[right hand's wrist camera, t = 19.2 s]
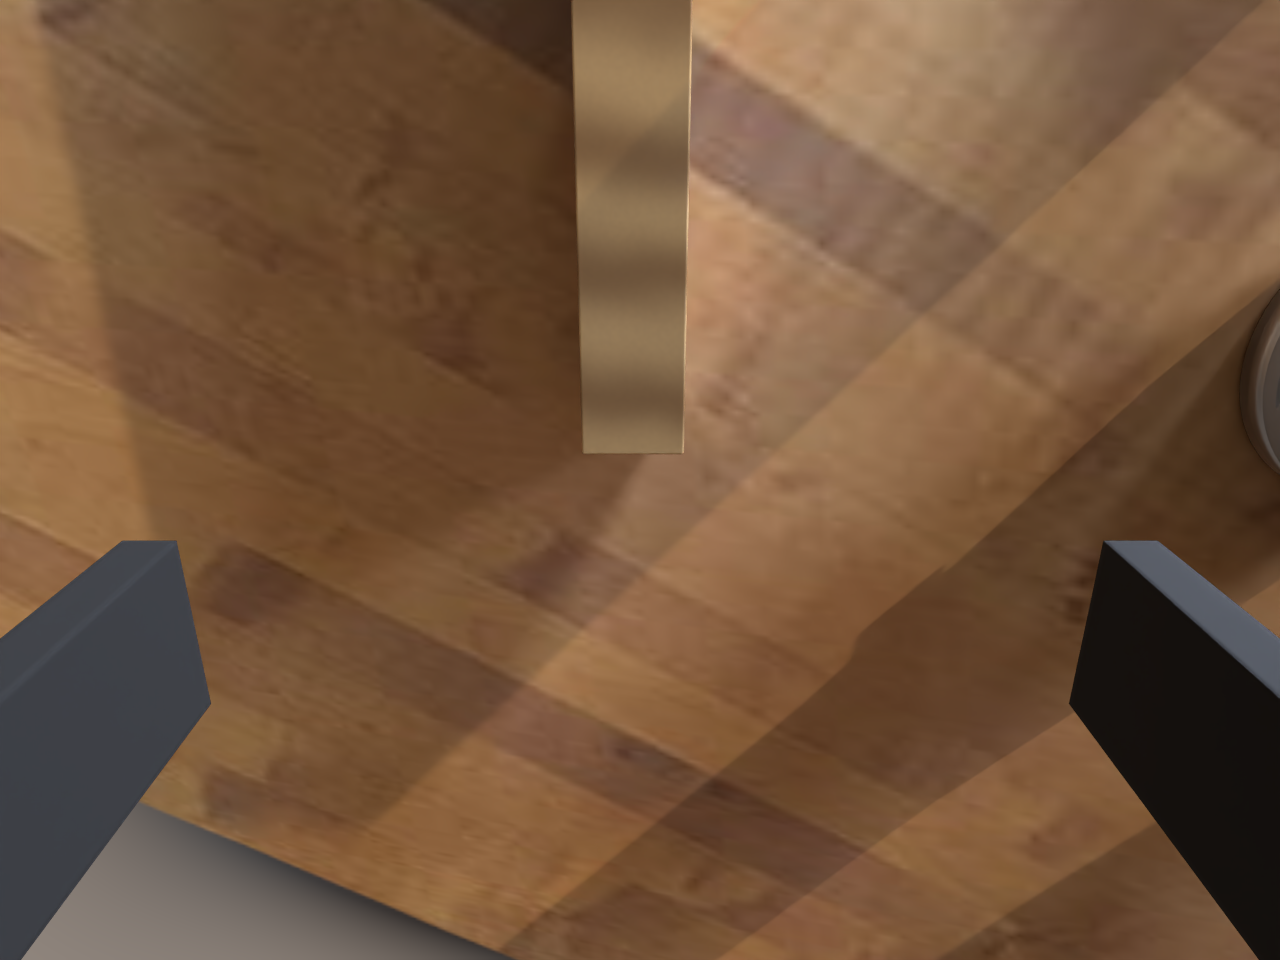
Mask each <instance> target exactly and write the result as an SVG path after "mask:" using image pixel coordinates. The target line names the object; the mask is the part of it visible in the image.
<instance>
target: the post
mask: <svg viewBox="0 0 1280 960" xmlns="http://www.w3.org/2000/svg"><path fill="white" fill-rule="evenodd" d="M692 1H693V0H571V27H572V67H573V108H574V148H575V188H576V228H577V268H578V308H579V348H580V388H581V428H582V453H583V454H683V453H684V410H685V359H686V308H687V257H688V206H689V154H690V103H691V52H692Z"/></svg>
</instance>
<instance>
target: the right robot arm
mask: <svg viewBox="0 0 1280 960" xmlns="http://www.w3.org/2000/svg"><path fill="white" fill-rule="evenodd" d="M1240 408H1241V413H1242V419H1243V423H1244V426H1245V429H1246V432H1247V434H1248V437H1249V439H1250V441H1251V443H1252V445H1253V446H1254V448H1255V450H1256V452H1257V453H1258V454H1259V455H1260V457H1261V458H1262V459H1263V461H1264V462H1265V463H1266V464H1267V465H1268V466H1269V467H1270V468H1271V469H1272V470H1274V471H1275V472H1276V473H1278V474H1279V475H1280V290H1279V291H1278V292H1277V293H1276V295H1275V296H1274V298H1273V299H1272V300H1271V302H1270V303H1269V305H1268V306H1267V308H1266V309H1265V311H1264V313H1263V315H1262V317H1261V318H1260V320H1259V322H1258V324H1257V326H1256V328H1255V330H1254V332H1253V335H1252V337H1251V339H1250V342H1249V345H1248V348H1247V351H1246V354H1245V358H1244V362H1243V366H1242V372H1241V379H1240ZM210 704H211V702H210V697H209V692H208V687H207V683H206V678H205V673H204V669H203V664H202V659H201V654H200V650H199V645H198V640H197V635H196V631H195V626H194V621H193V617H192V612H191V607H190V602H189V598H188V593H187V588H186V584H185V579H184V574H183V569H182V565H181V560H180V555H179V550H178V546H177V541H121V542H120V543H119V544H118V545H116V546H115V547H114V548H113V549H111V550H110V551H109V552H108V553H106V554H105V555H104V556H103V557H101V558H100V559H99V560H98V561H96V562H95V563H94V564H93V565H91V566H90V567H89V568H88V569H86V570H85V571H84V572H83V573H81V574H80V575H79V576H78V577H77V578H75V579H74V580H73V581H72V582H70V583H69V584H68V585H67V586H65V587H64V588H63V589H62V590H60V591H59V592H58V593H57V594H55V595H54V596H53V597H52V598H50V599H49V600H48V601H47V602H45V603H44V604H43V605H42V606H40V607H39V608H38V609H37V610H35V611H34V612H33V613H32V614H30V615H29V616H28V617H27V618H25V619H24V620H23V621H22V622H20V623H19V624H18V625H17V626H15V627H14V628H13V629H12V630H10V631H9V632H8V633H7V634H5V635H4V636H3V637H2V638H0V960H21V959H22V958H23V956H24V955H25V954H26V952H27V951H28V950H29V948H30V947H31V946H32V944H33V943H34V942H35V940H36V939H37V937H38V936H39V935H40V933H41V932H42V931H43V929H44V928H45V927H46V925H47V924H48V923H49V921H50V920H51V919H52V917H53V916H54V915H55V913H56V912H57V911H58V909H59V908H60V907H61V905H62V904H63V902H64V901H65V900H66V898H67V897H68V896H69V894H70V893H71V892H72V890H73V889H74V888H75V886H76V885H77V884H78V882H79V881H80V880H81V878H82V877H83V876H84V874H85V873H86V871H87V870H88V869H89V867H90V866H91V865H92V863H93V862H94V861H95V859H96V858H97V857H98V855H99V854H100V853H101V851H102V850H103V849H104V847H105V846H106V844H107V843H108V842H109V840H110V839H111V838H112V836H113V835H114V834H115V832H116V831H117V830H118V828H119V827H120V826H121V824H122V823H123V822H124V820H125V819H126V818H127V816H128V815H129V813H130V812H131V811H132V809H133V808H134V807H135V805H136V804H137V803H138V801H139V800H140V799H141V797H142V796H143V795H144V793H145V792H146V791H147V789H148V788H149V787H150V785H151V784H152V783H153V781H154V780H155V778H156V777H157V776H158V774H159V773H160V772H161V770H162V769H163V768H164V766H165V765H166V764H167V762H168V761H169V760H170V758H171V757H172V756H173V754H174V753H175V752H176V750H177V749H178V747H179V746H180V745H181V743H182V742H183V741H184V739H185V738H186V737H187V735H188V734H189V733H190V731H191V730H192V729H193V727H194V726H195V725H196V723H197V722H198V721H199V719H200V718H201V716H202V715H203V714H204V712H205V711H206V710H207V708H208V707H209V706H210ZM1069 704H1070V706H1071V707H1072V708H1073V710H1074V711H1075V712H1076V714H1077V715H1078V716H1079V718H1080V719H1081V721H1082V722H1083V723H1084V725H1085V726H1086V727H1087V729H1088V730H1089V731H1090V733H1091V734H1092V735H1093V737H1094V738H1095V739H1096V741H1097V742H1098V743H1099V745H1100V746H1101V747H1102V749H1103V750H1104V752H1105V753H1106V754H1107V756H1108V757H1109V758H1110V760H1111V761H1112V762H1113V764H1114V765H1115V766H1116V768H1117V769H1118V770H1119V772H1120V773H1121V774H1122V776H1123V777H1124V778H1125V780H1126V781H1127V783H1128V784H1129V785H1130V787H1131V788H1132V789H1133V791H1134V792H1135V793H1136V795H1137V796H1138V797H1139V799H1140V800H1141V801H1142V803H1143V804H1144V805H1145V807H1146V808H1147V809H1148V811H1149V812H1150V814H1151V815H1152V816H1153V818H1154V819H1155V820H1156V822H1157V823H1158V824H1159V826H1160V827H1161V828H1162V830H1163V831H1164V832H1165V834H1166V835H1167V836H1168V838H1169V839H1170V840H1171V842H1172V843H1173V845H1174V846H1175V847H1176V849H1177V850H1178V851H1179V853H1180V854H1181V855H1182V857H1183V858H1184V859H1185V861H1186V862H1187V863H1188V865H1189V866H1190V867H1191V869H1192V870H1193V871H1194V873H1195V874H1196V876H1197V877H1198V878H1199V880H1200V881H1201V882H1202V884H1203V885H1204V886H1205V888H1206V889H1207V890H1208V892H1209V893H1210V894H1211V896H1212V897H1213V898H1214V900H1215V901H1216V902H1217V904H1218V905H1219V907H1220V908H1221V909H1222V911H1223V912H1224V913H1225V915H1226V916H1227V917H1228V919H1229V920H1230V921H1231V923H1232V924H1233V925H1234V927H1235V928H1236V929H1237V931H1238V932H1239V933H1240V935H1241V936H1242V937H1243V939H1244V940H1245V942H1246V943H1247V944H1248V946H1249V947H1250V948H1251V950H1252V951H1253V952H1254V954H1255V955H1256V956H1257V958H1258V959H1259V960H1280V638H1278V637H1277V636H1276V635H1275V634H1273V633H1272V632H1271V631H1270V630H1268V629H1267V628H1266V627H1265V626H1263V625H1262V624H1261V623H1260V622H1258V621H1257V620H1256V619H1255V618H1253V617H1252V616H1251V615H1250V614H1248V613H1247V612H1246V611H1245V610H1243V609H1242V608H1241V607H1240V606H1238V605H1237V604H1236V603H1235V602H1233V601H1232V600H1231V599H1230V598H1228V597H1227V596H1226V595H1225V594H1223V593H1222V592H1221V591H1220V590H1218V589H1217V588H1216V587H1215V586H1213V585H1212V584H1211V583H1210V582H1208V581H1207V580H1206V579H1205V578H1203V577H1202V576H1201V575H1200V574H1199V573H1197V572H1196V571H1195V570H1194V569H1192V568H1191V567H1190V566H1189V565H1187V564H1186V563H1185V562H1184V561H1182V560H1181V559H1180V558H1179V557H1177V556H1176V555H1175V554H1174V553H1172V552H1171V551H1170V550H1169V549H1167V548H1166V547H1165V546H1164V545H1162V544H1161V543H1160V542H1159V541H1103V546H1102V550H1101V555H1100V560H1099V565H1098V569H1097V574H1096V579H1095V584H1094V588H1093V593H1092V598H1091V602H1090V607H1089V612H1088V617H1087V621H1086V626H1085V631H1084V635H1083V640H1082V645H1081V650H1080V654H1079V659H1078V664H1077V669H1076V673H1075V678H1074V683H1073V687H1072V692H1071V697H1070V702H1069Z"/></svg>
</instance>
